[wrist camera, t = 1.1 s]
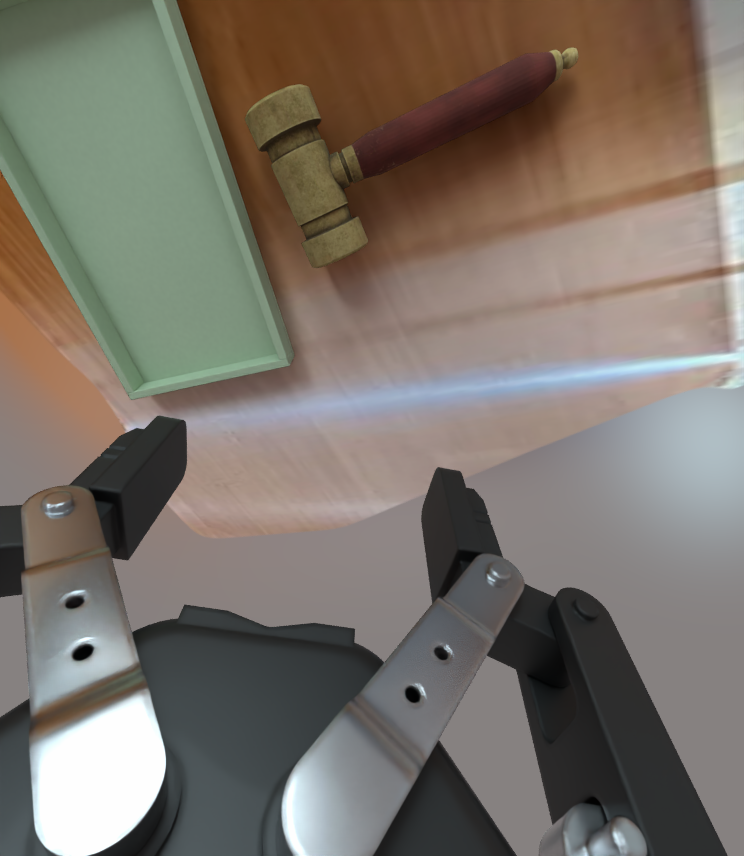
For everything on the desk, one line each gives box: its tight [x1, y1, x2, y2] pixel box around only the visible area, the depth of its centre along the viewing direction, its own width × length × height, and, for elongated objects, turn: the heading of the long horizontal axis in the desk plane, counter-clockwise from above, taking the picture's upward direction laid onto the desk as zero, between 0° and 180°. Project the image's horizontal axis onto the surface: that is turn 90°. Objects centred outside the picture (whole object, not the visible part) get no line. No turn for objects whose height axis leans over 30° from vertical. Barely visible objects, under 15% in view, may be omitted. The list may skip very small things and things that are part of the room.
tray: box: [0, 0, 295, 400], centre depth 31 cm, size 26×15×3 cm, turn 13°
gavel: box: [245, 48, 578, 268], centre depth 28 cm, size 21×5×10 cm
